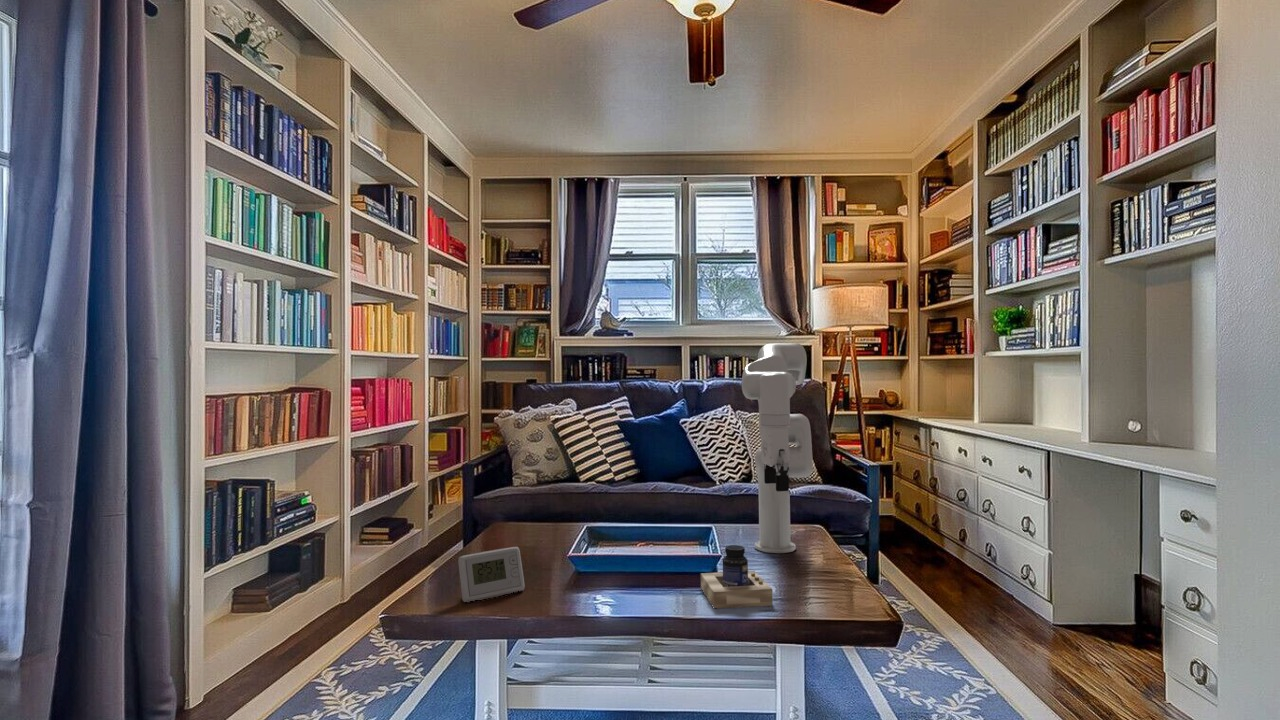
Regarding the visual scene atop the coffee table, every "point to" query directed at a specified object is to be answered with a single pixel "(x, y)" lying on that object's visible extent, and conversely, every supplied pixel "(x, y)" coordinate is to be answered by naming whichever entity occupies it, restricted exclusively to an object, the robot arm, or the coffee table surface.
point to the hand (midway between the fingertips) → (776, 487)
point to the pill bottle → (735, 567)
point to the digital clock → (490, 573)
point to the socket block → (736, 591)
